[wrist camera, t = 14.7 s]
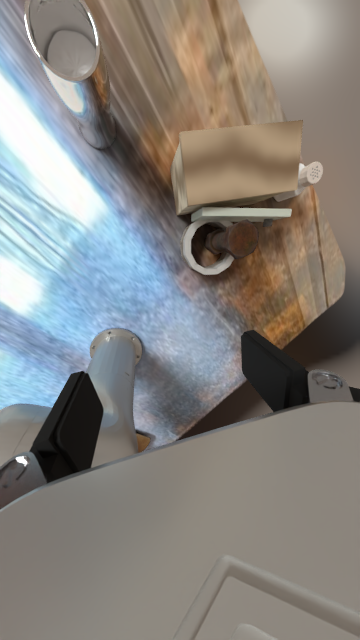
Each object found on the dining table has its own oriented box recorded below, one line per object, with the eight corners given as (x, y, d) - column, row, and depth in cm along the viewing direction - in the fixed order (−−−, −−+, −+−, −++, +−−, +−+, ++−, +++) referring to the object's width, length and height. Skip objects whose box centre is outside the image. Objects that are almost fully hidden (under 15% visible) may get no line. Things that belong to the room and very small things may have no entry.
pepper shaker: (266, 189, 40) (300, 173, 31) (279, 173, 39) (318, 152, 31) (276, 203, 42) (312, 192, 33) (289, 187, 41) (329, 171, 32)
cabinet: (255, 262, 46) (290, 266, 35) (184, 275, 43) (198, 285, 33) (256, 156, 37) (302, 120, 27) (168, 167, 35) (180, 131, 24)
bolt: (225, 241, 42) (265, 238, 29) (212, 259, 43) (244, 264, 30) (207, 223, 40) (242, 211, 27) (193, 243, 41) (219, 240, 28)
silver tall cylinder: (118, 105, 31) (100, -8, 17) (118, 156, 33) (102, 93, 20) (73, 92, 29) (14, -43, 16) (76, 147, 32) (27, 70, 18)
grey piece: (257, 271, 44) (279, 275, 37) (183, 274, 41) (192, 280, 34) (265, 215, 39) (292, 208, 32) (182, 214, 36) (192, 207, 29)
